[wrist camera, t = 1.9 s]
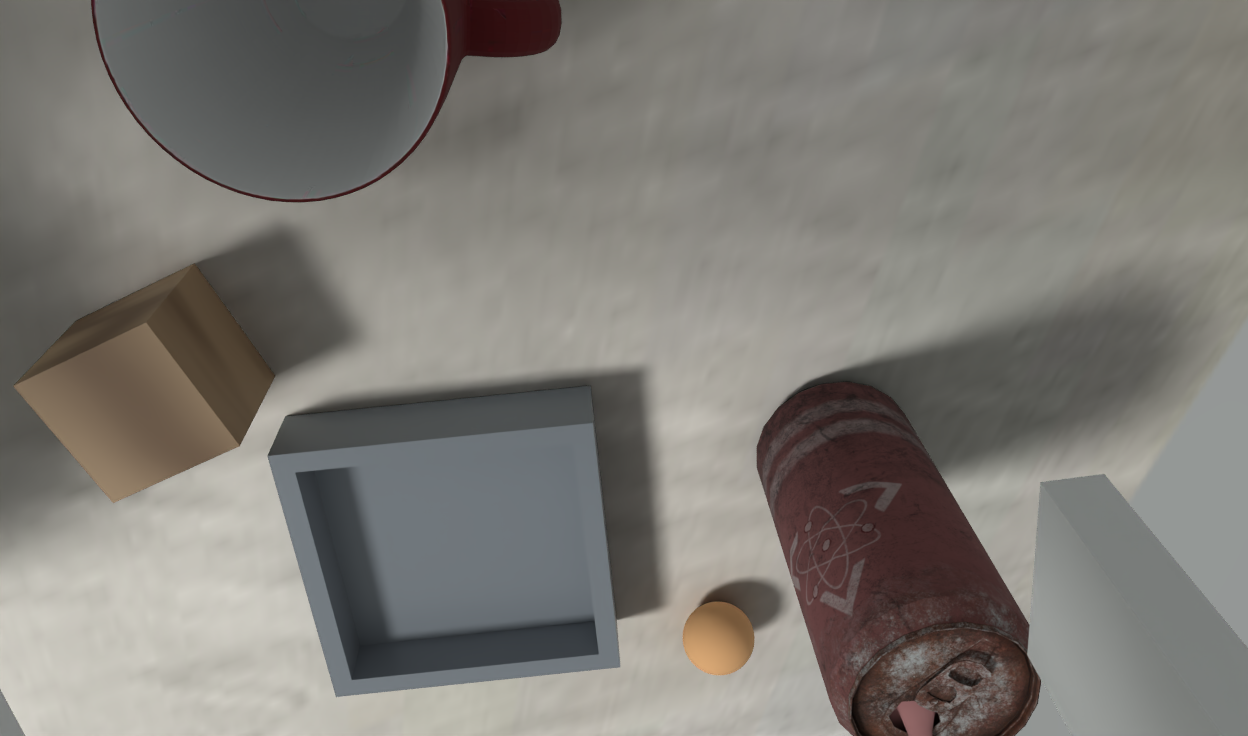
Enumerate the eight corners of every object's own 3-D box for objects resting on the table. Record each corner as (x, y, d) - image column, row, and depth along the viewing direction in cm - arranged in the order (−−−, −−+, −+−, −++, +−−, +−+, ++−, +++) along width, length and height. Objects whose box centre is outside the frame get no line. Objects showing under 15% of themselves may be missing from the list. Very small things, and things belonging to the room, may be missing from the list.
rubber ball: (681, 644, 46) (689, 694, 43) (677, 590, 45) (684, 639, 42) (748, 636, 46) (760, 686, 44) (747, 583, 45) (759, 631, 42)
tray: (347, 648, 45) (336, 696, 43) (285, 416, 40) (267, 455, 37) (616, 620, 45) (620, 667, 43) (590, 385, 40) (592, 423, 37)
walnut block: (162, 427, 40) (112, 503, 35) (77, 319, 38) (13, 386, 33) (275, 375, 39) (239, 445, 35) (195, 262, 37) (145, 322, 32)
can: (753, 517, 43) (833, 796, 31) (754, 381, 40) (843, 630, 28) (899, 505, 43) (1038, 779, 31) (911, 369, 40) (1069, 611, 28)
